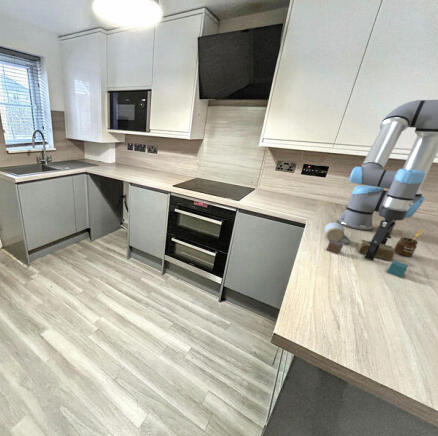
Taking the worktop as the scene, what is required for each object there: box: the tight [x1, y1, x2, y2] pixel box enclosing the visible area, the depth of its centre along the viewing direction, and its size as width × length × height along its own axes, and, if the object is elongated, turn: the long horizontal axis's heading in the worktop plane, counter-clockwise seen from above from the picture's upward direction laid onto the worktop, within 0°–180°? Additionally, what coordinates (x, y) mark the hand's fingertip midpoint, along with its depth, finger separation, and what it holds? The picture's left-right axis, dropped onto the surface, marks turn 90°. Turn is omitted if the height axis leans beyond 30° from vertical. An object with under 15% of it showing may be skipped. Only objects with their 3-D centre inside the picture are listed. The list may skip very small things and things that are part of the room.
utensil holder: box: [393, 228, 425, 257], centre depth 102 cm, size 6×6×12 cm
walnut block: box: [326, 240, 344, 254], centre depth 103 cm, size 4×4×4 cm
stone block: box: [357, 239, 396, 261], centre depth 101 cm, size 6×12×5 cm, turn 56°
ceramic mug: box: [324, 221, 352, 244], centre depth 113 cm, size 11×8×8 cm
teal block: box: [386, 260, 410, 278], centre depth 88 cm, size 4×4×4 cm
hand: (373, 254), depth 102 cm, fingers open, 13 cm apart
